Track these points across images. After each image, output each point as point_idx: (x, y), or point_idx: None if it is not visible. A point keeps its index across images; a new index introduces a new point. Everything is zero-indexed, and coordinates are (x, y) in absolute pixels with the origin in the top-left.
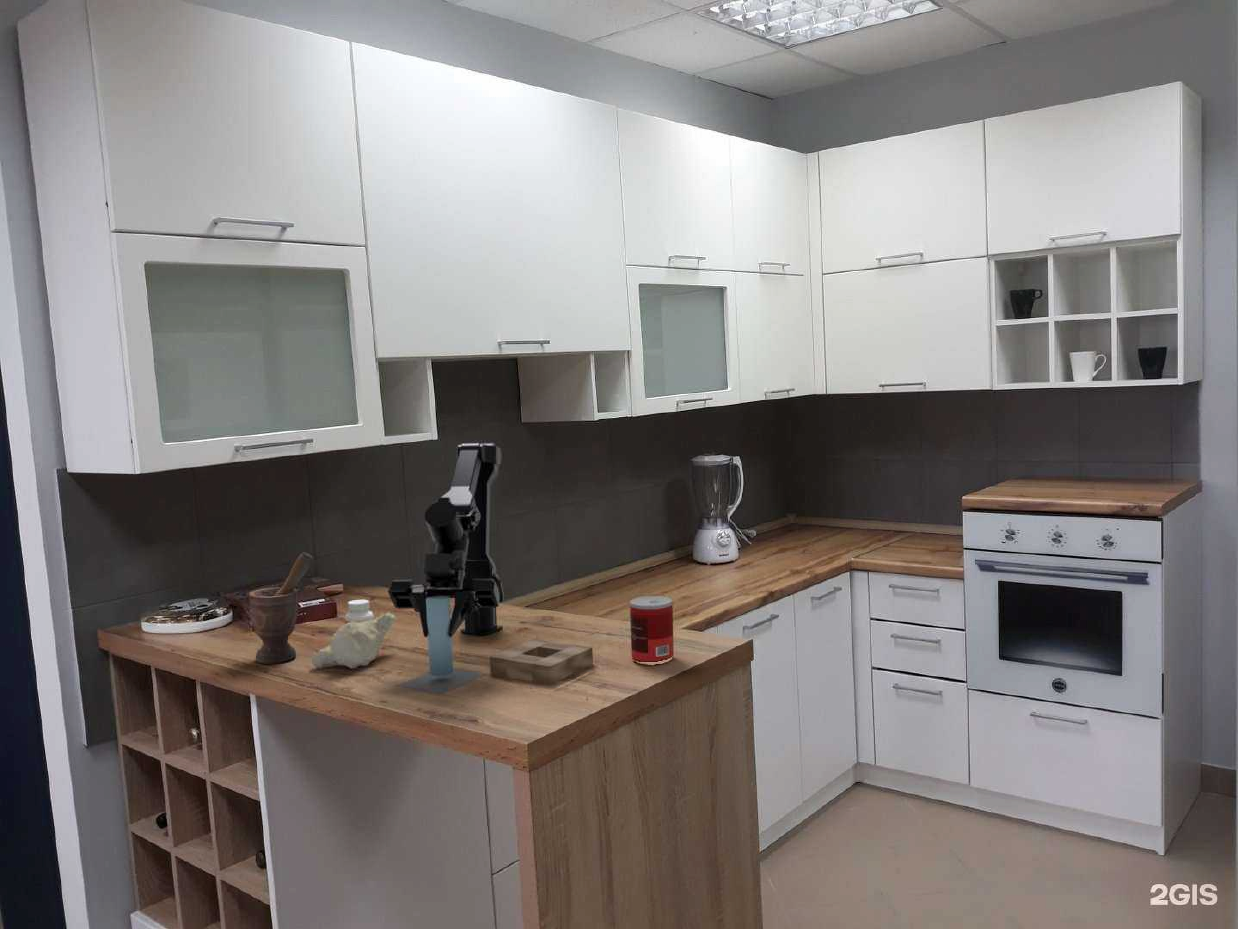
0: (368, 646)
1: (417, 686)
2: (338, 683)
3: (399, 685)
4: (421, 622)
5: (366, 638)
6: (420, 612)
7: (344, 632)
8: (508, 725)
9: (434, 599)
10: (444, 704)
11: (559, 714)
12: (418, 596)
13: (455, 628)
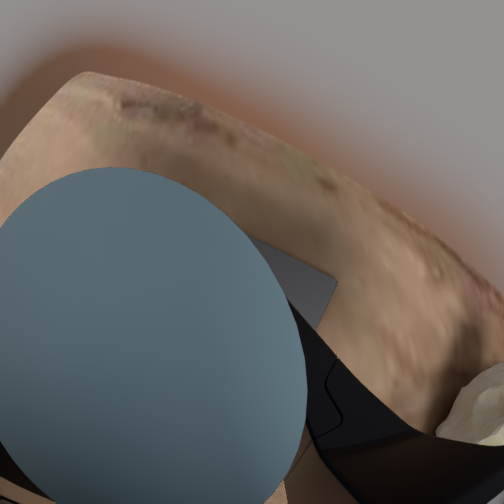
0: (460, 436)
1: (276, 272)
2: (459, 311)
3: (328, 281)
4: (310, 326)
5: (477, 436)
6: (349, 382)
7: None
8: (85, 100)
9: (112, 315)
10: (181, 165)
11: (25, 148)
12: (456, 470)
13: None
